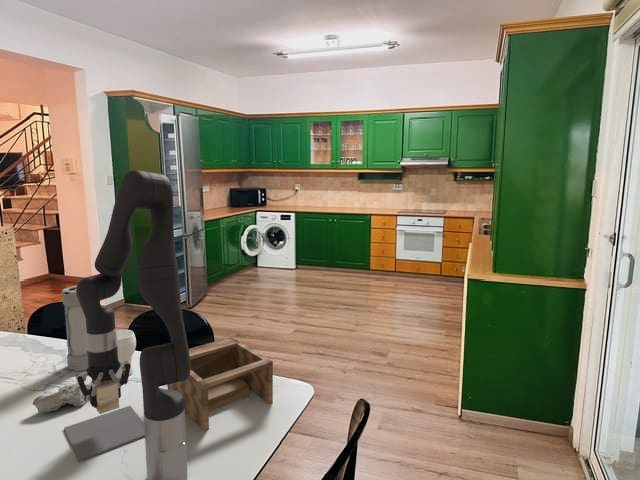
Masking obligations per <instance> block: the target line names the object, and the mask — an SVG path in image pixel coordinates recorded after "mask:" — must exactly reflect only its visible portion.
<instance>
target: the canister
mask: <svg viewBox="0 0 640 480" xmlns="http://www.w3.org/2000/svg"><path fill="white" fill-rule="evenodd" d="M76 288H77V285H75V286H74V285H73V286H70V287H66V288H63V289H62V290H61V298H62V299H61V300H62V304H63V306H64V309H63V310H64V317H65V318H64V319H65V320H64V321H65V332H66V346H67V355H66V358H67V359H66V363H67V369H68V370H70V371H75V372H82V371H86V370H87V368H88V359H87V348H86V336H87V331H86V318H85V315H84V313H83V310H82V308H81V305H80V303H79V300H78V298H77V294H76Z"/></svg>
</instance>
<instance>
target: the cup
mask: <svg viewBox="0 0 640 480" xmlns="http://www.w3.org/2000/svg"><path fill="white" fill-rule="evenodd" d="M116 334H117V345H118V361H119V362H120V363H124V362H125V361H128V362H129V363H130V365H131V367H130V372H129V376H131V375H132V374H133V373H134V369H133V363H132V359H133V355H134V353H135V351H136V347H137V339H136V335H135V333H134V331H133V330H131V329H118V330H117V329H116ZM121 374H122V369H121V367H120V368H119V370H118V371H117V373H116V377H117V379H118V380H119V379H121Z"/></svg>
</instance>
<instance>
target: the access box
mask: <svg viewBox="0 0 640 480" xmlns="http://www.w3.org/2000/svg"><path fill="white" fill-rule="evenodd" d="M188 349H189V355H190V365H191V370H190V376H189V377H188V379H186V380H184V381H180V382H176V383H172V384H168V385H166V386H167V389H169V390H175V391H178V392H180V393H181V394H182V395H183V396H184V399H185V414H186V415H187V416H189V417H190V419H191V420H192V421H194V423H195V424H196V425H198V427H200V428H201V430H202V431H203V432H204V431H207V430H209V429H210V422H209V421H210V420H209V419H210V418H209V417H210V412H212V411H215V410H218V409H220V408H222V407H225V406H228V405H230V404H232V403H233V404H234V403H235V402H239V401H241V400H243V399H246V398H248V396H250V392H251V393H253V394H254V395H255V396H257V397H259V398H260V399H261V400H262V401H264V402H266V404H272V403H273V402H274V401H273V400H274V388H273V387H274V383H273V382H274V380H273V379H274V378H273V377H274V371H273V370H274V369H273V368H274V363H273V360H271V359H269V358H268V357H266V356H264V355H262V354H261V353H259V352H258V351H256V350H255V349H253V348H252V347H251V348H250V347H249V346H247V345H246V344H244V343H242V342H241V341H239V340H237V339H235V338H234V337H232V336H230V337H227V338H223V339H219V340H216V341H212V342H208V343H205V344H201V345H198V346H194V347H191V348H188Z"/></svg>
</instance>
